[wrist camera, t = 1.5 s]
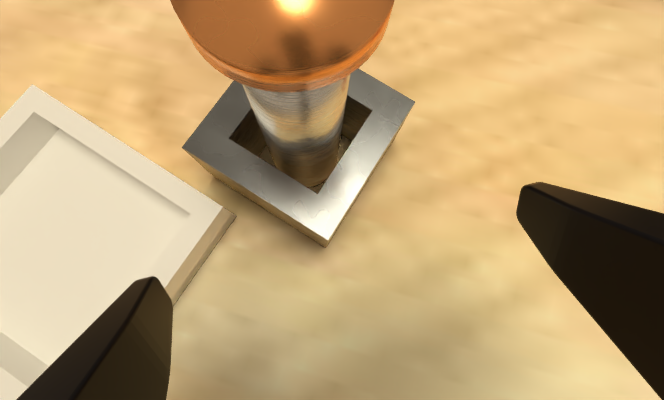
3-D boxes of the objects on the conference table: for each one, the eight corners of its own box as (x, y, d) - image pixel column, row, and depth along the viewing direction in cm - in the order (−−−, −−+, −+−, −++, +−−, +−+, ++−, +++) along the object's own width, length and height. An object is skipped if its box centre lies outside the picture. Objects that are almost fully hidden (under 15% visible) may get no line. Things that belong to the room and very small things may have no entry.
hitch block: (325, 247, 21) (328, 240, 16) (213, 176, 21) (181, 147, 16) (394, 139, 22) (415, 101, 17) (287, 75, 23) (278, 22, 18)
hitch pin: (318, 216, 21) (318, 113, 7) (244, 169, 22) (115, -9, 8) (365, 145, 22) (439, -59, 8) (293, 102, 23) (254, -159, 9)
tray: (95, 416, 18) (52, 443, 15) (-85, 284, 19) (-157, 287, 16) (236, 215, 21) (223, 206, 18) (70, 109, 22) (32, 84, 19)
